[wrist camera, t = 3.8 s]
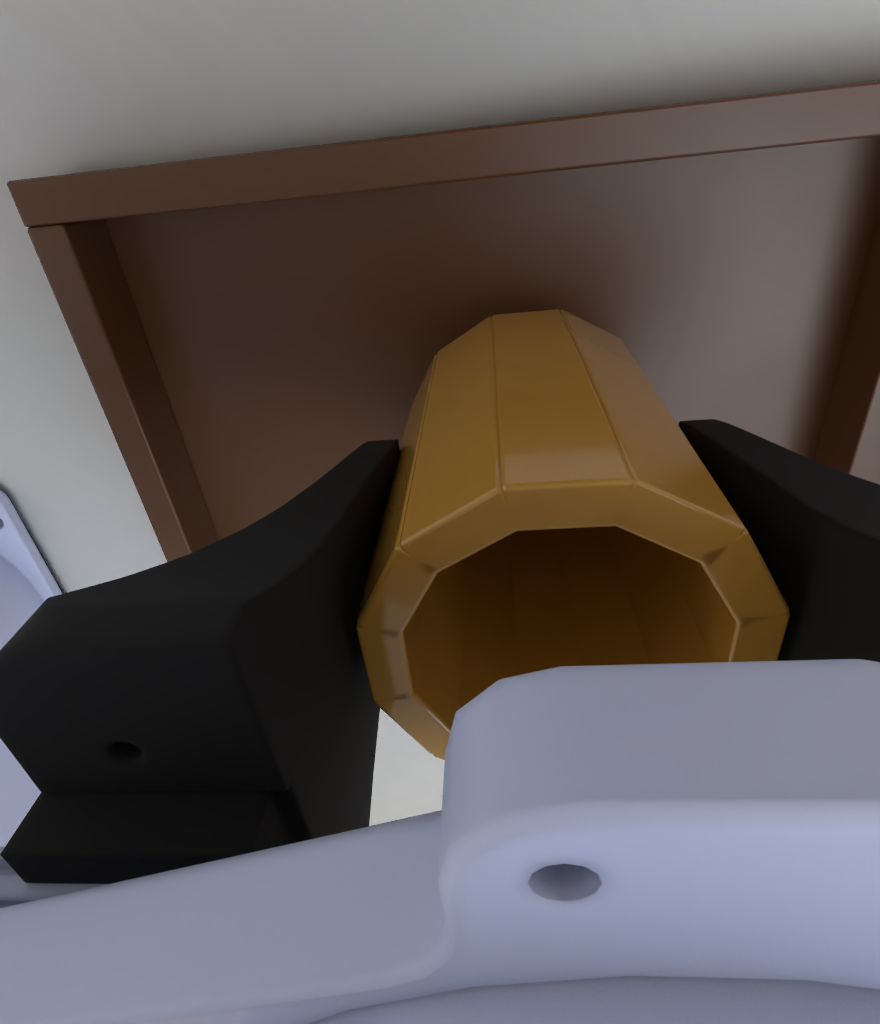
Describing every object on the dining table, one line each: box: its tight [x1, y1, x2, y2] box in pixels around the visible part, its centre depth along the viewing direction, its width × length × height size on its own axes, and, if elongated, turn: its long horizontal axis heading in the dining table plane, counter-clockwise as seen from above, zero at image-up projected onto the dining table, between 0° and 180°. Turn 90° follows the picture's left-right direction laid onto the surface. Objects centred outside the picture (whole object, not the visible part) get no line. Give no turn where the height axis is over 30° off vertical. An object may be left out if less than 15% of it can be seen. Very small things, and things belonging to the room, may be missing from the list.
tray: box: [7, 80, 880, 562], centre depth 15 cm, size 13×18×2 cm
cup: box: [356, 309, 790, 760], centre depth 11 cm, size 5×5×7 cm
